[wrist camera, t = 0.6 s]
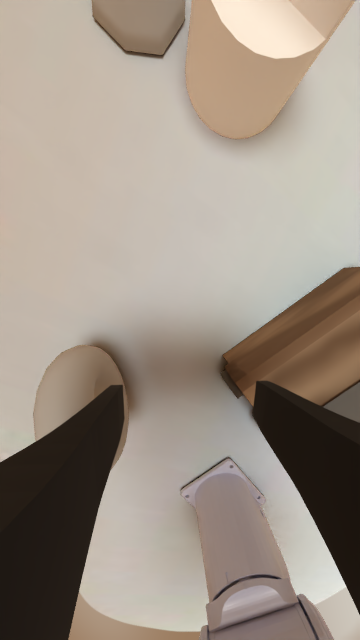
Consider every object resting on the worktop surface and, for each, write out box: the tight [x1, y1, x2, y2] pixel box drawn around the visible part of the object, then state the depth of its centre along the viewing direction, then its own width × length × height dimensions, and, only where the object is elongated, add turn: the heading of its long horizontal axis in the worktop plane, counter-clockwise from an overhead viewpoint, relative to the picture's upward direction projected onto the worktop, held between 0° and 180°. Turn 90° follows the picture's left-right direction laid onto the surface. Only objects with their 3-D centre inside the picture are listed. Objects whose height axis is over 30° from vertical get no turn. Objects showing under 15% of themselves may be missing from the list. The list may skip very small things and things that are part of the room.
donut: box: [33, 345, 128, 469], centre depth 15 cm, size 10×3×10 cm, turn 15°
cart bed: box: [220, 267, 360, 419], centre depth 19 cm, size 12×19×5 cm, turn 127°
